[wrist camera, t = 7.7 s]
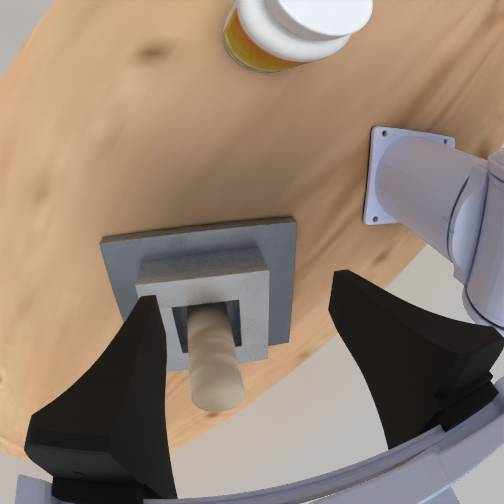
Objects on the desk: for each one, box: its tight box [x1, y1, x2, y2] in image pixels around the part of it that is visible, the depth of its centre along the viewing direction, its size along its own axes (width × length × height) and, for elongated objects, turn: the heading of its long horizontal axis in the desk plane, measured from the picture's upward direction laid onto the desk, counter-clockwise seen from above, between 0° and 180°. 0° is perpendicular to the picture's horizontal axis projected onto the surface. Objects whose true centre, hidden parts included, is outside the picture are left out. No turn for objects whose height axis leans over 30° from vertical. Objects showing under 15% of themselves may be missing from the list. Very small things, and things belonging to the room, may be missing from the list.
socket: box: [100, 217, 297, 372], centre depth 22 cm, size 14×12×4 cm
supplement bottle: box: [223, 0, 372, 72], centre depth 11 cm, size 5×5×10 cm
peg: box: [187, 301, 245, 411], centre depth 19 cm, size 3×3×9 cm
